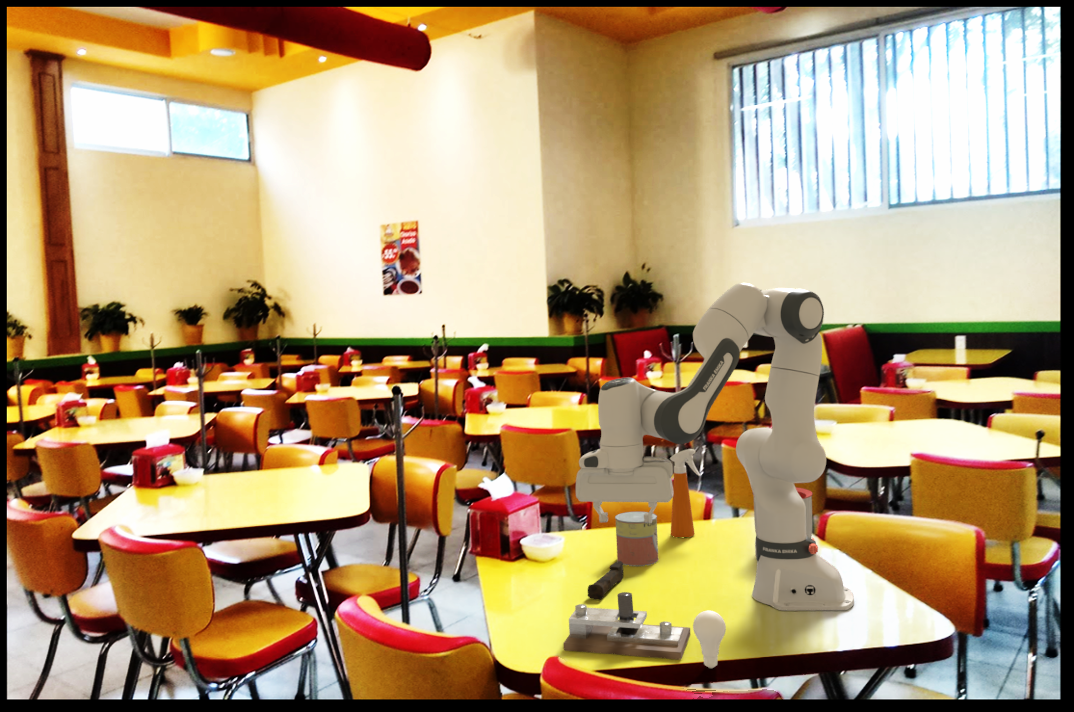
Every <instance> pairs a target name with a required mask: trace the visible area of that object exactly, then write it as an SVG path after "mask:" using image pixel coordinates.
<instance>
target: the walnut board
mask: <svg viewBox="0 0 1074 712" xmlns="http://www.w3.org/2000/svg"><path fill="white" fill-rule="evenodd" d="M643 625H648V626H660V624H659V625H658V624H657V625H656V624H645V623H643ZM672 627H675V625H672ZM676 627H677V628H683V635H682V637H681V640H680V643H679V645H678V646H672V645H659V644H646V643H633V642H620V641H607V635H608V633H609V632H610V630H611V628H612V627H611V626H597V625H594V627H593V629H592V631H591V632H590V634H589V635H588V637H587V638H586V639H581V638H570V633H569V634H568V636H567V637H566V639H565V640H564V642H563V651H566V652H567V651H569V652H580V653H581V652H582V653H583V652H584V653H595V654H604V655H605V654H606V655H618V656H629V657H642V658H655V659H665V658H666V659H667V660H668V659H669V660H678V661H682V659H683V656H684V653H685V650H686V648H687V645H688V642H689V639H690V637H691V627H689V626H688V627H687V626H676ZM636 633H637V632H635V635H636ZM618 634H620V631H619V633H618Z"/></svg>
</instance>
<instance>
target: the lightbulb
mask: <svg viewBox="0 0 1074 712" xmlns="http://www.w3.org/2000/svg"><path fill="white" fill-rule="evenodd" d="M726 628H727V626H726V622H725V620H724V618H723V616H722V615H720V613H718V612H716V611H714V610H704V611H701V612H699V613H698V614H697V615H696V616H695V618H694V620H693V625H692V629H693V633H694V634H695V636H696V639H697V640H698V642H699V645H700V648H701V654H702V656H703V665H704V666H706V667H708V669H713V668H715V667H716V666H718V659H719V658H718V657H719V653H720V652H719V651H720V645H721V643H722V641H723V639H724V638H725V637H724V636H725V635H726V630H727V629H726Z"/></svg>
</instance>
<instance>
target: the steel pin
mask: <svg viewBox="0 0 1074 712" xmlns="http://www.w3.org/2000/svg"><path fill="white" fill-rule="evenodd" d="M633 604H634V603H633V593H632V592H628V591H627V592H626V591H624V592H623V591H622V592H619V593H617V606H618V610H619V618H618V620H631V621H635V618H634V614H633V611H634V605H633ZM620 634H627V635H635V628H625V627H620Z"/></svg>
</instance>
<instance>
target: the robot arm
mask: <svg viewBox="0 0 1074 712" xmlns="http://www.w3.org/2000/svg"><path fill="white" fill-rule="evenodd" d="M824 315H825V311H824V305H823V302H822V300H821V298H820V297H819V295H818V294H816V292H813V291H810V290H808V289H807V290H806V289H803V288H796V289H795V288H789V287H775V288H768V289H760V288H758V287H757V286H756V285H753V284H751V283H748V282H739V283H736V284H734V285H733V286H731V287H730V288H729V289H727V290H726V291H725V292H724V293H723V294H721V295H720V296H719V297H718V298H717V299H716V300H715V301H714V302H713V303H712V304H711V305H710V307H708V309H707V310H706V311H705V313H703V315H702V316H701V317H700V319H699V320H698V321H697V323H696V325H695V326H694V329H693V332H692V339H693V343H694V348H695V349H696V350H697V352H698V353H699V354H700V355H701V356H702V358H703V361H702V363H701V366H700V367H699V368H698V370H697V371H696V372H695V374H694V375H693V378H692V379H691V380H690V382H689V383H688V385H687V386H686V387H685V388H683V389H682V390H679V391H677V392H668V391H667V392H666V391H662V390H657V389H653V388H651V387H648V386H646V385H643V384H642V383H640V382H639V381H637V380H636V379H635V378H633V377H621V378H615V379H611V380H608V381H607V382H605V383H603V385H601V387H600V389H599V394H598V402H597V403H598V406H597V408H598V410H597V411H598V425H599V428H600V431H601V435H600V436H601V437H600V439H599V440H600V441H599V446H600V448H598V449H595V450H593V451H589V452H587V453H585V454H584V455H582V456H581V457H580V458H579V460H578V464H579V467H580V469H579V470H578V471H577V473H576V477H575V497H576V499H578V501H579V502H584V503H585V502H591V503H592V504H593V509H594V510H595V512H597V513H596V514H598V520H599V523H608V521H609V516H608V515H609V513H608V512H604V510H603V508H602V506H601V505H602V504H603V502H604V503H613V502H614V503H648V505H647V506H648V508H650V510H649V513H645V514H644V519H645V520H644V523H652V513H653V514H654V512H655V509H656V508H657V506H658V503H669V502H670V501H671V500H673V479H672V477H673V476H674V465H673V463H672V460H671V459H669V458H666V457H665V456H644V441H643V438H644V436H646V435H647V436H652V437H655V438H660V439H664V440H666V441H668V442H670V443H674V444H678V445H685V444H688V443H691V442H692V441H694V440H695V439H696V438H698V437H699V435H700V433H701V432H702V431H703V429H704V426H705V424H706V421H707V418H708V415H709V412H710V410H711V408H712V406H713V404H714V403H715V401H716V400H717V398H718V396H719V395H720V393H721V391H722V390H723V388H724V387H725V385H726V384H727V382H728V381H729V379H730V377H732V374H733V372H734V371H735V369H736V367H737V365H738V363H739V361H740V357H741V356H740V355H741V351H742V349H743V348H744V347H745V345H746V344H747V343H748V341H749V340H750V339H751V337H752V336H753V335H755V336H764V337H770V338H771V337H772V338H773V340H774V345H775V349H774V352H773V356H772V360H771V365H770V369H769V374H768V379H767V385H766V390H765V394H764V395H765V396H764V400H765V401H764V402H765V404H766V405H765V406H766V407H767V408H768V409H769V413H770V417H771V427H772V428H769V427H754V428H748V429H747V430H746V431H743V433H742V434H741V435H740V436H739V437H738V439H737V442H736V447H735V453H736V457H737V459H738V461H739V462H740V464H741V465H742V466H743V468H744V470H745V472H746V475H747V477H748V480H749V483H750V487H751V490H752V495H753V500H754V499H755V504H756V517H757V535H756V534H755V540H754V551H755V552H754V553H755V560H756V571H755V572H756V575H755V579H754V580H755V581H754V585H753V590H752V592H751V596H752V598H753V600H756V601H757V602H760V603H761V604H765V605H768V606H771V607H773V608H774V609H776V610H778V611H847V610H849V609H852V607H853V606H854V604H855V598H854V594H853V592H852V590H851V589H849V588H848V587H846V586H844V582H843V578H842V575H841V573H840V571H839V570H838V569H837V567H836V566H834V565H833V564H831V563H830V562H828V561H827V560H826V559H824V558H823V557H822V556H820V555H819V554H818V552H819V546H818V545H817V542H816V540H815V538H814V537H811V538H809V537H808V536H807V535H806V507H805V503H804V501H803V499H802V498H801V497H800V495H799V494H798V492H797V490H796V488H795V487H796V486H795V484H805V483H807V484H808V483H809V484H810V483H812V482H815V481H817V480H818V479H820V477H821V476H822V475H823V473H824V471H825V469H826V465H827V455H826V452H825V449H824V447H823V446H822V444H821V443H820V441H819V438H818V434H817V430H816V424H815V405H816V398H817V393H818V385H819V380H820V374H821V369H822V359H823V358H822V357H823V356H822V355H823V338H822V334H820V331H821V328H822V325H823V322H824V318H825V317H824Z"/></svg>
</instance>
